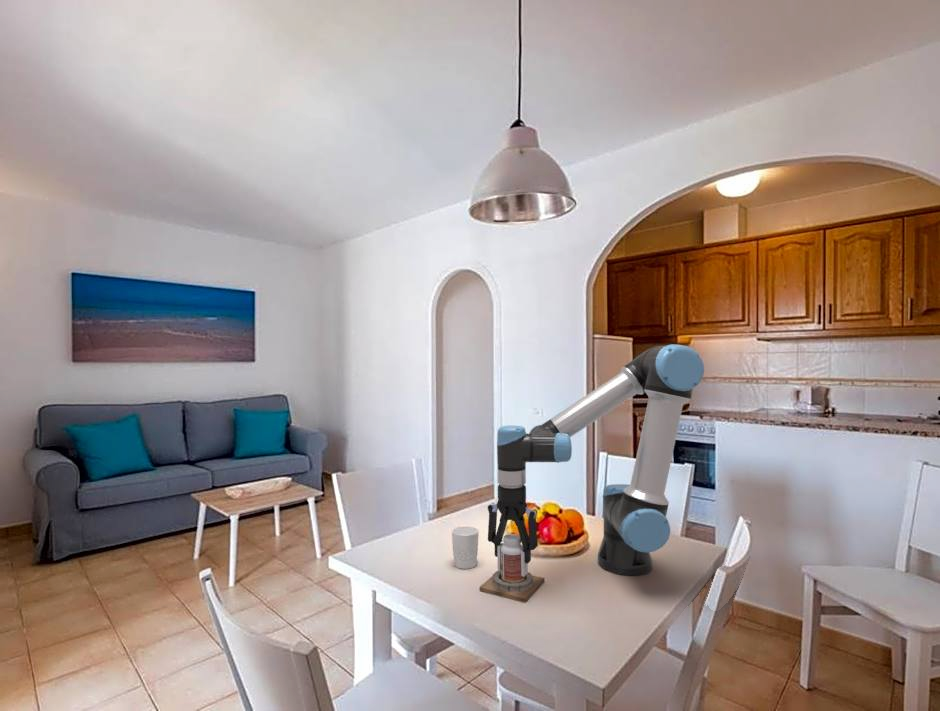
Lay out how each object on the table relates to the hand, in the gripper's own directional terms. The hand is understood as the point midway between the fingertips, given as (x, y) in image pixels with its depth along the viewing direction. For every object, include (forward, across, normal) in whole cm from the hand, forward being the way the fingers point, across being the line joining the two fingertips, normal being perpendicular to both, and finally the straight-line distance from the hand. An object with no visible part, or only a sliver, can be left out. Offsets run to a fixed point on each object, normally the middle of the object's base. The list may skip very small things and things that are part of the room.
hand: (512, 571), depth 130 cm
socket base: (+4, 0, 0) cm, 4 cm away
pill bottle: (+2, 0, 0) cm, 2 cm away
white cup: (+4, +18, -6) cm, 20 cm away
